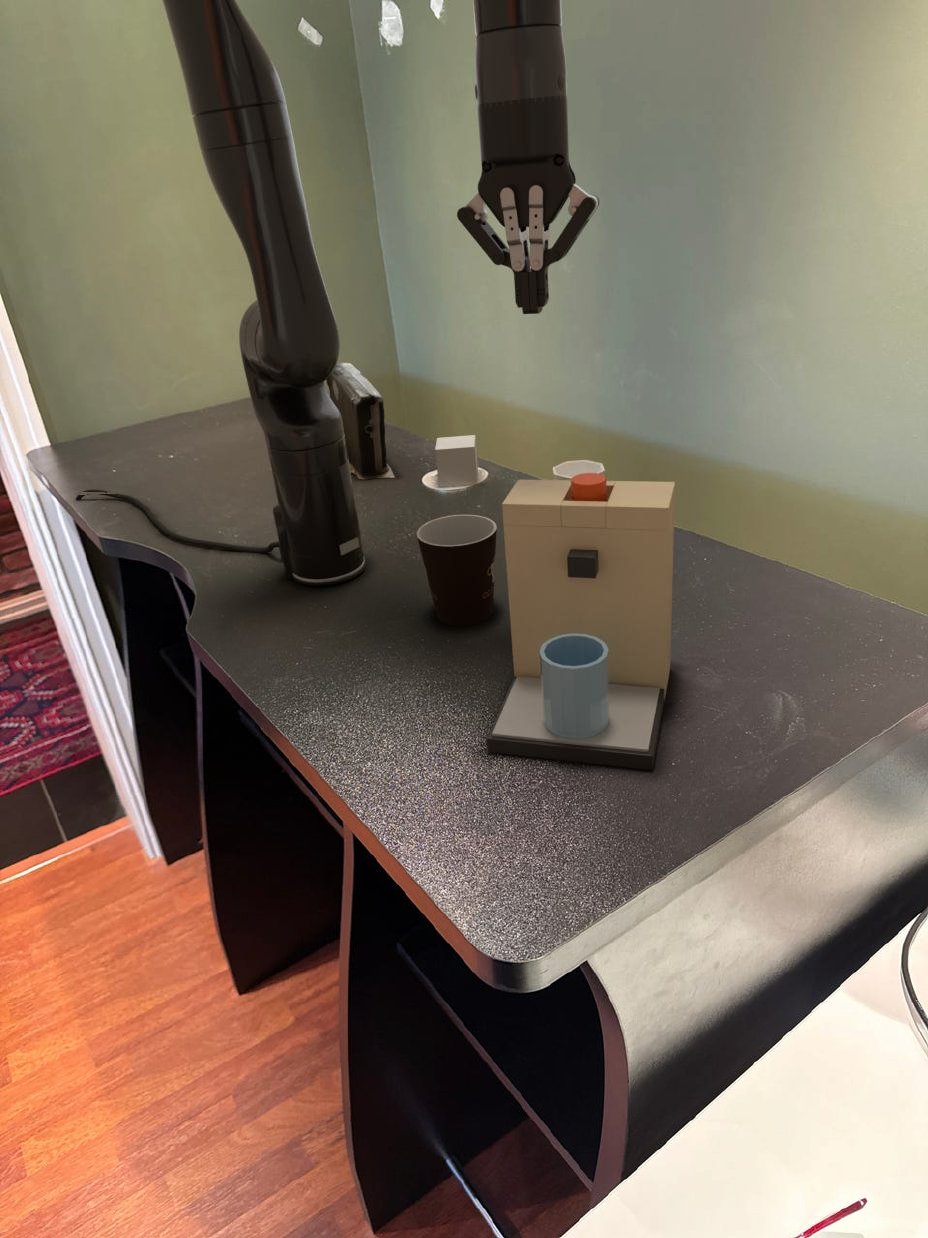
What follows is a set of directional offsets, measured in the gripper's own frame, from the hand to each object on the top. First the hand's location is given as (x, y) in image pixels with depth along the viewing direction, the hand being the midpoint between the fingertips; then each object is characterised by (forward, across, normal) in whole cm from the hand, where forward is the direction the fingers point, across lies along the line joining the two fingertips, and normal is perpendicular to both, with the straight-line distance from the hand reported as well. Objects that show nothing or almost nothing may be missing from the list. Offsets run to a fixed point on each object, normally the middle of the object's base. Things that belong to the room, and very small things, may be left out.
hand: (532, 312), depth 82 cm
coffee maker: (+32, -7, +17) cm, 37 cm away
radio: (+32, +43, -51) cm, 74 cm away
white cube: (+32, +23, -42) cm, 58 cm away
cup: (+32, +2, -24) cm, 40 cm away
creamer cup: (+30, -7, +21) cm, 38 cm away
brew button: (+14, -7, +12) cm, 20 cm away
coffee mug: (+32, +9, -1) cm, 33 cm away
